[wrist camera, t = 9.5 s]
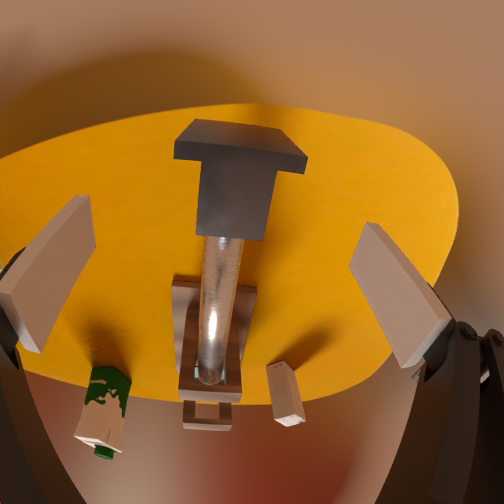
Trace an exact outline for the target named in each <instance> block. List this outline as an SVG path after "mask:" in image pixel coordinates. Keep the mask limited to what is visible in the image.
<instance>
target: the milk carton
mask: <svg viewBox="0 0 504 504" xmlns="http://www.w3.org/2000/svg"><path fill="white" fill-rule="evenodd" d="M131 384H132V382H131V381H130V380H128V379H127V378H126V377H125V376H124V375H123V374H122V373H120V372H119V371H118V370H117V369H116V368H115V367H114V366H111V367H102V368H92V372H91V377H90V382H89V387H88V391H87V395H86V398H85V403H84V406H83V410H82V415H81V419H80V421H79V424H78V426H77V428H76V431H75V433H74V436H75V437H77V438H78V439H80V440H81V441H82V442H84V443H87V444H89V445H91V446H93V447H95V452H94V454H95V455H97V456H99V457H102V458H106V459H110V460H111V459H113V453H114V452H123V446H122V429H123V422H124V416H125V410H126V404H127V399H128V395H129V391H130V387H131Z"/></svg>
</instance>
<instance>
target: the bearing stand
mask: <svg viewBox="0 0 504 504" xmlns="http://www.w3.org/2000/svg"><path fill="white" fill-rule="evenodd" d="M171 290H172V313H173V330H174V344H175V357H176V368H177V374H178V375H179V386H178V391H179V399H180V400H184V408H183V428H186V429H198V430H217V431H218V430H219V431H230V430H231V426H232V415H231V403H239V401H240V398H241V395H242V385H241V369H240V363H241V358H242V354H243V350H244V346H245V342H246V338H247V333H248V329H249V325H250V321H251V317H252V312H253V308H254V304H255V300H256V295H257V289H256V287H243V286H237V287H236V293H235V299H234V305H233V311H232V317H231V323H230V330H229V336H228V342H227V348H226V354H225V361H224V380H222V379H221V380H220V382H219V383H217V384H215V385H206V384H204V383H202V382H201V381H200V380H199V378H195V366H198V341H199V316H200V295H201V283H194V282H183V281H172V285H171ZM195 401H204V402H219V419H203V418H195Z"/></svg>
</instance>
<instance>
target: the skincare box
mask: <svg viewBox="0 0 504 504" xmlns="http://www.w3.org/2000/svg"><path fill="white" fill-rule="evenodd" d="M266 372H267V378H268V384H269V390H270V396H271V403H272V408H273V414H274V420H276V421H278V422H280V423H281V424H284V425H285V426H291V425H294V424H297V423H301V422H304V421H306V419H305V415H304V410H303V406H302V402H301V397H300V393H299V389H298V385H297V380H296V376H295V372H294V371H293V370H292V369H291V368H290V367H289V366H288V364H287V363H286V362H285V361H280V362H277V363H274V364H271V365H269V366H266Z"/></svg>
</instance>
